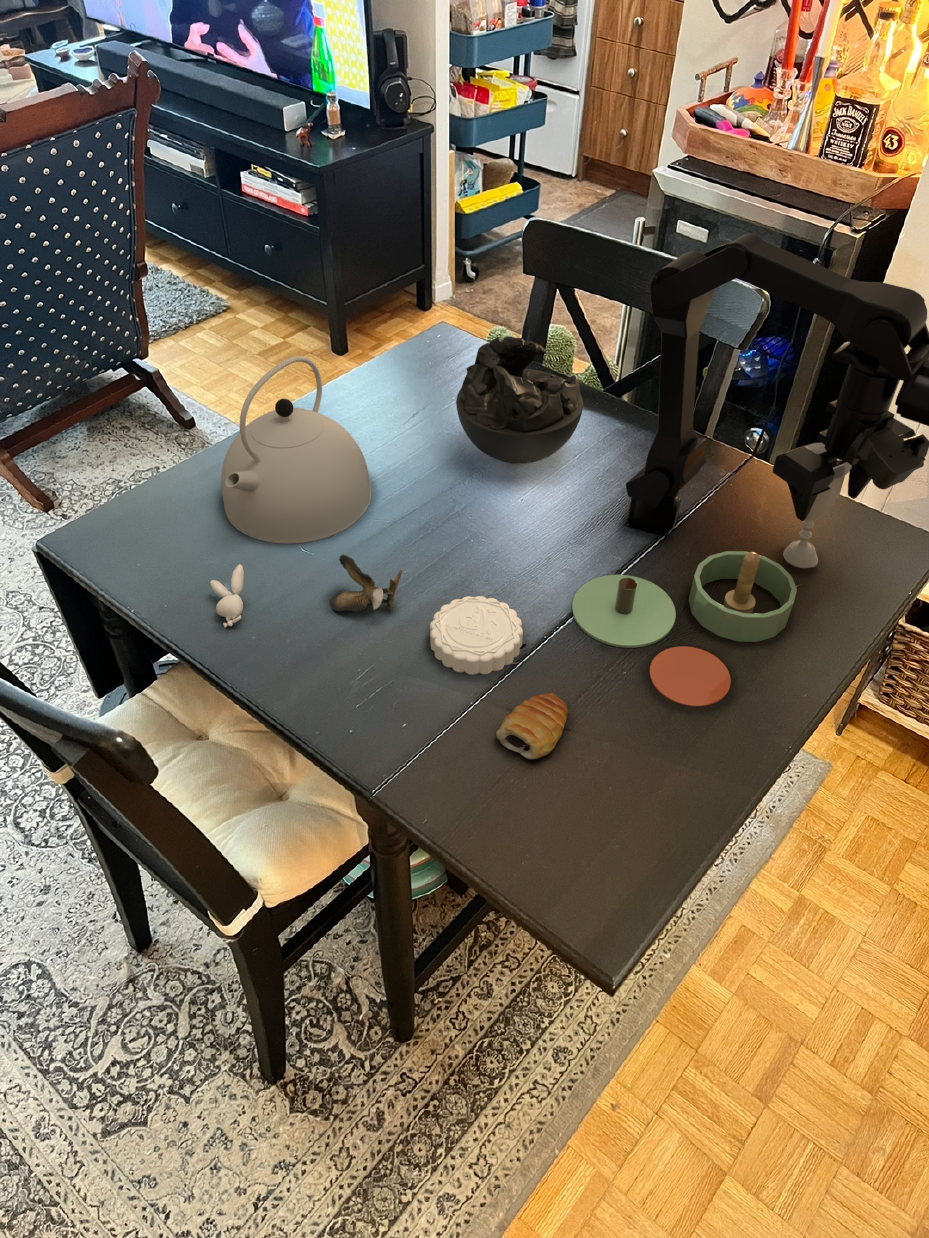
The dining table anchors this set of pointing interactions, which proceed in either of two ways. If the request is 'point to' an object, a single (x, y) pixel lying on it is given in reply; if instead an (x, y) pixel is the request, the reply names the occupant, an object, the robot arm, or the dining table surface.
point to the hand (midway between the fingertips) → (826, 508)
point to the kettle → (293, 472)
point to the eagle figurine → (368, 594)
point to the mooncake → (476, 635)
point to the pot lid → (623, 611)
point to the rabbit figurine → (230, 597)
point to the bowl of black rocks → (517, 403)
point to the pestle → (744, 586)
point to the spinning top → (690, 676)
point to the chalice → (803, 550)
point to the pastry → (534, 726)
